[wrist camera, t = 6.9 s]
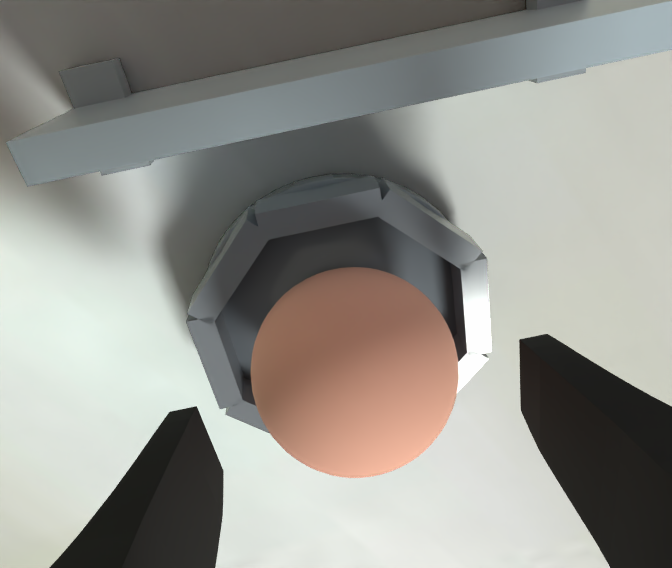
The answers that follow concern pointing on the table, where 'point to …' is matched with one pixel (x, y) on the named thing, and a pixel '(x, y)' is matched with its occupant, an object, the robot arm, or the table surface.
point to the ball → (354, 372)
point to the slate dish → (326, 254)
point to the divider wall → (330, 85)
